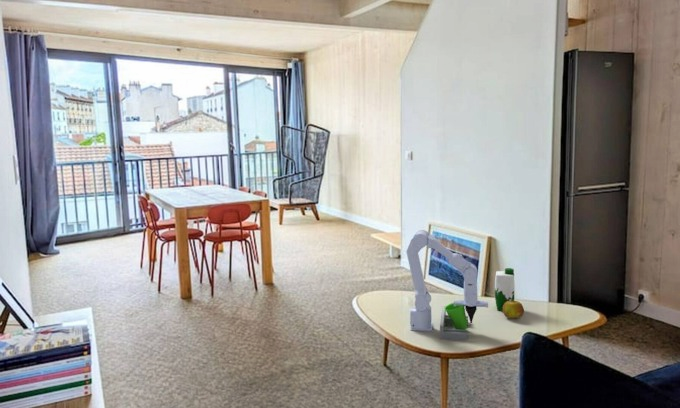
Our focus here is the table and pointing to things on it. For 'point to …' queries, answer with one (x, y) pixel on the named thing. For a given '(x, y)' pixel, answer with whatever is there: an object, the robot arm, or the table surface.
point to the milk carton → (504, 287)
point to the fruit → (513, 309)
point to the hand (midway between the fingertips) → (471, 322)
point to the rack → (451, 333)
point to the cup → (457, 316)
